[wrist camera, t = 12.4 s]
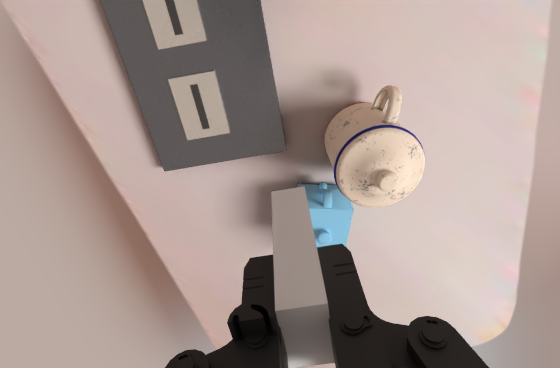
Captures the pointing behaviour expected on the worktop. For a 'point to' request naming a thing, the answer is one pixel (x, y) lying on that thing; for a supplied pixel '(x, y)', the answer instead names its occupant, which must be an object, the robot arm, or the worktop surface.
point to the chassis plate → (200, 77)
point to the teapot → (328, 213)
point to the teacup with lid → (374, 152)
